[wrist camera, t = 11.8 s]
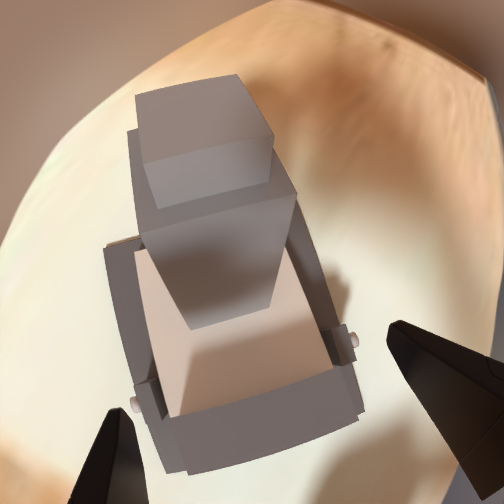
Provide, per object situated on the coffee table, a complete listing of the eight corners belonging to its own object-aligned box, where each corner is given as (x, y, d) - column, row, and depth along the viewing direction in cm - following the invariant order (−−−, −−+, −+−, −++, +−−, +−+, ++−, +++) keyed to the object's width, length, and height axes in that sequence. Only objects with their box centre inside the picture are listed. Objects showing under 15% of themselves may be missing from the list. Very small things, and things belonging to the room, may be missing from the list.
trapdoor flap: (349, 416, 17) (367, 416, 14) (188, 468, 15) (178, 477, 12) (271, 220, 23) (275, 194, 21) (136, 255, 22) (123, 232, 19)
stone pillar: (269, 307, 20) (307, 147, 8) (190, 330, 19) (119, 191, 7) (244, 240, 22) (249, 63, 10) (172, 259, 21) (115, 91, 10)
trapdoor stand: (362, 410, 21) (388, 420, 17) (167, 471, 18) (158, 494, 14) (294, 201, 25) (308, 176, 21) (104, 250, 22) (85, 232, 18)
